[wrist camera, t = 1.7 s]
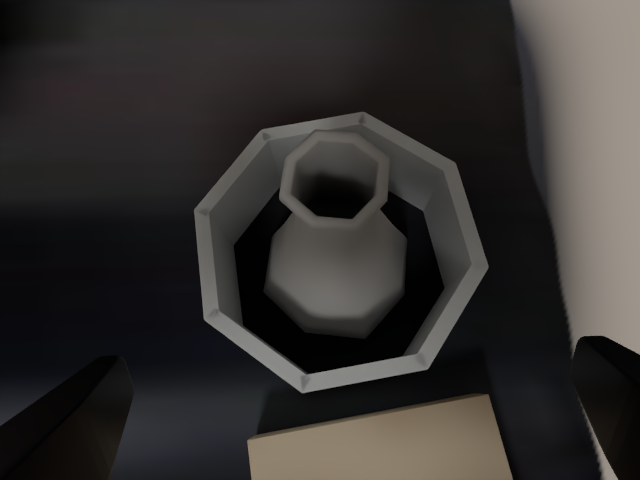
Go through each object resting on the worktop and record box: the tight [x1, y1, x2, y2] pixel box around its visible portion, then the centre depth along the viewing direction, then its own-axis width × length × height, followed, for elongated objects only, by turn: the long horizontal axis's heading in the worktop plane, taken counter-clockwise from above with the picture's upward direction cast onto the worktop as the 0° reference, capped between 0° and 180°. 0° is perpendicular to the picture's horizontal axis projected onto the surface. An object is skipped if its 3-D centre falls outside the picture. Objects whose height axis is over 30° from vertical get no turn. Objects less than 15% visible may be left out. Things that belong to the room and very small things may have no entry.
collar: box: [194, 112, 488, 393], centre depth 19 cm, size 11×11×4 cm
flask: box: [263, 129, 407, 339], centre depth 17 cm, size 7×7×10 cm
